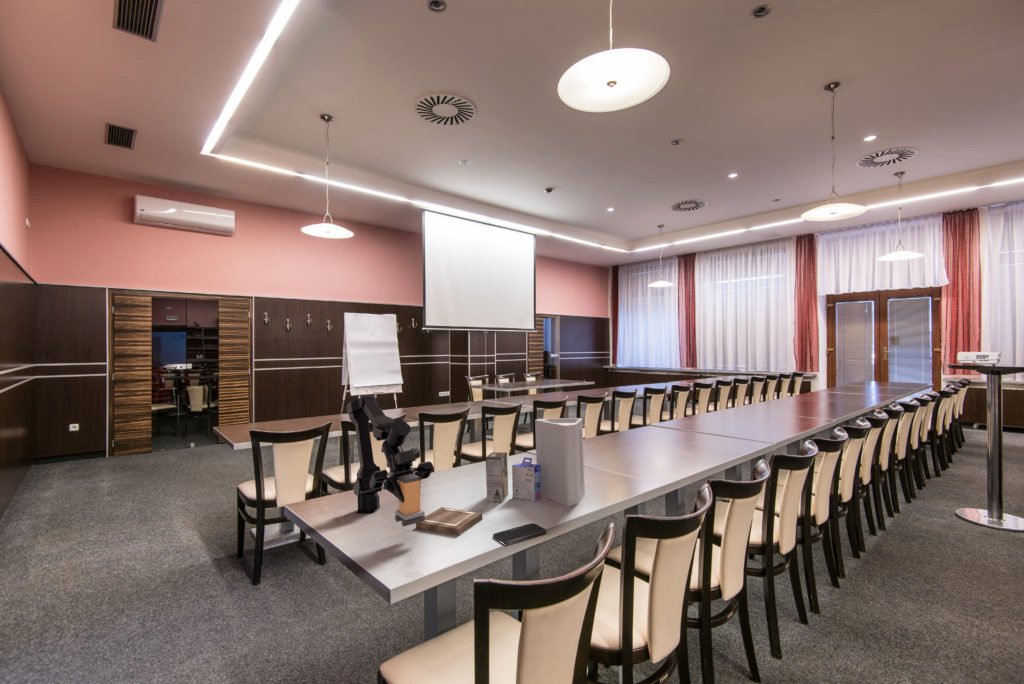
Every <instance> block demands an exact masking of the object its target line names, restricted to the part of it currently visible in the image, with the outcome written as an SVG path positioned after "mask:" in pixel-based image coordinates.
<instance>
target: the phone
mask: <svg viewBox="0 0 1024 684" xmlns="http://www.w3.org/2000/svg"><path fill="white" fill-rule="evenodd" d="M546 534H548V532H547V529H546V528H544V527H542V526H540V525H539V524H537V523H533V522H531V523H528V524H523V525H521V526H517V527H516V526H515V527H512V528H508V529H505V530H502V531H498V532H495V533H493V534H492V538H493V537H494V538H496V539H497V540H499V541H501V542H503V543H504V544H506V545H505V546H510V545H514V544H516V543H520V542H524V541H527V540H529V539H533V538H537V537H540V536H543V535H546ZM494 538H493V539H494ZM496 539H495V540H496ZM499 541H498V542H499Z"/></svg>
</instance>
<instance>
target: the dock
mask: <svg viewBox="0 0 1024 684" xmlns="http://www.w3.org/2000/svg"><path fill="white" fill-rule="evenodd" d="M424 516H425V521H422V522H418V523H415V529H419V528H420V530H424V529H425V531H430V530H431V531H432V532H436V531H437V532H436V533H441V532H442V534H447V533H448V534H449V535H453V534H456V535H455V536H458V535H459V536H461V535H462V534H464V533H465V532H466V530H467V529H468V530H469V529H471V528H473V525H474V526H475V525H476V523H477V524H478V523H479V522H481V521H482V520H483V513H482V512H477V511H470V510H462V509H457V508H450V507H443V506H441V507H439V508H437V509H436V510H434V511H432V512H431V513H429V514H427V515H424ZM470 527H471V528H470ZM468 530H467V531H468ZM464 531H465V532H464ZM463 532H464V533H463ZM461 533H462V534H461ZM460 534H461V535H460Z"/></svg>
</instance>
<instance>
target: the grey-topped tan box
mask: <svg viewBox="0 0 1024 684" xmlns="http://www.w3.org/2000/svg"><path fill="white" fill-rule="evenodd" d="M398 484H399V487H400V489H401V491H402V494H403V497H404V502H403V503H402V502H401V501H400V500H399V499H398V509H396V510H394V511H395V512H394V514H395V515H394V519H395V522H396V523H398V522H401V526H402V527H407V526H410V525H414V524H415V525H416V523H418V522H422V521H425V516H426V515H425V511H424V510H422V509H421V481H420V477H419V476H417V475H414V474H409V475H404V476H399V477H398Z"/></svg>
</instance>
